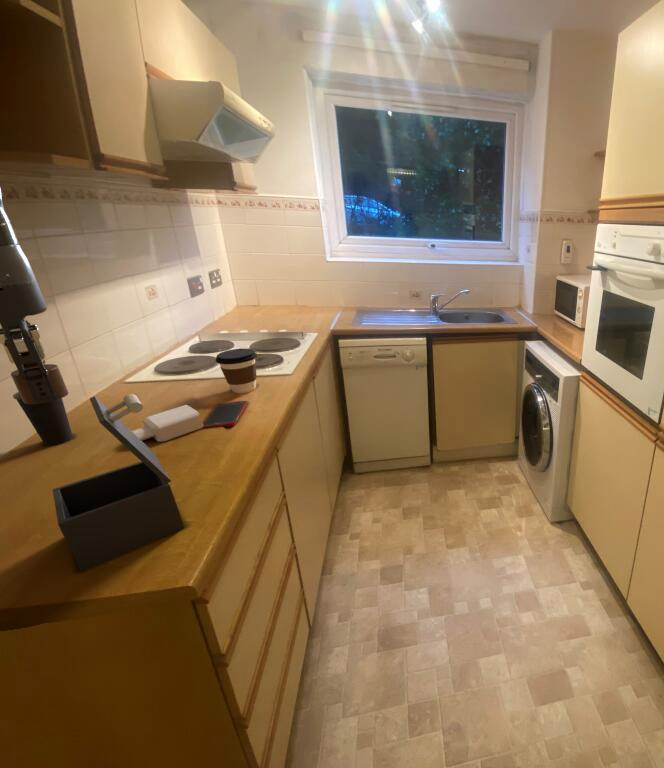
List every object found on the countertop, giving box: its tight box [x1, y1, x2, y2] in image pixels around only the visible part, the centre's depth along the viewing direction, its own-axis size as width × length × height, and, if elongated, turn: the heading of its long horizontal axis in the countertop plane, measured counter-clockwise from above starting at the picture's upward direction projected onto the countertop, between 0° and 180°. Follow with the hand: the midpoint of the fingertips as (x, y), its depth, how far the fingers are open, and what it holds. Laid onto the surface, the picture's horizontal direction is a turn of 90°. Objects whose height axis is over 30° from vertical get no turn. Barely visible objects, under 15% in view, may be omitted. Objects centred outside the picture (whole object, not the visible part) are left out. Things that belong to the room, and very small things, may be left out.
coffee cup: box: [215, 348, 258, 394], centre depth 134 cm, size 11×11×12 cm
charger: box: [131, 404, 204, 443], centre depth 107 cm, size 5×9×15 cm
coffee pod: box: [10, 363, 69, 404], centre depth 64 cm, size 5×5×4 cm
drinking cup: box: [12, 391, 74, 447], centre depth 101 cm, size 8×8×20 cm
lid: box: [89, 393, 172, 484], centre depth 74 cm, size 14×13×5 cm
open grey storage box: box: [52, 460, 185, 572], centre depth 75 cm, size 14×13×10 cm
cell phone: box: [202, 400, 248, 429], centre depth 118 cm, size 8×15×1 cm, turn 18°
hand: (45, 395), depth 65 cm, fingers closed on coffee pod, 4 cm apart
